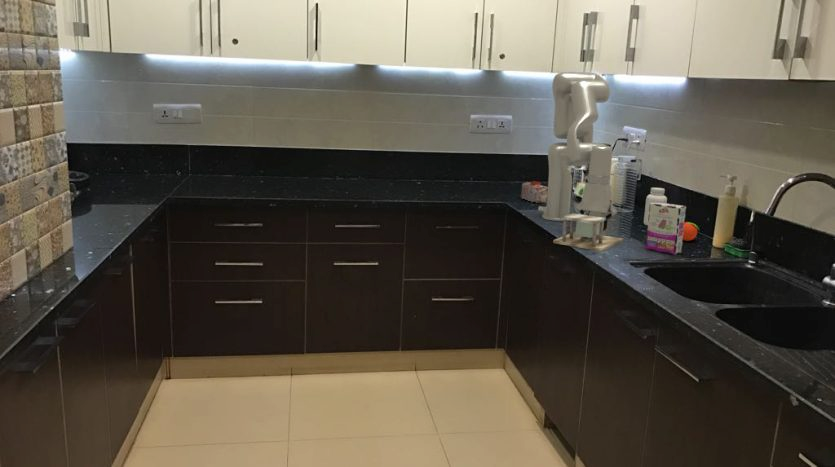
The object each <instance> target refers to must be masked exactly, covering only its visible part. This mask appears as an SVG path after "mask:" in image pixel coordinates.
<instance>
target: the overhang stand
mask: <svg viewBox="0 0 835 467" xmlns="http://www.w3.org/2000/svg"><path fill="white" fill-rule="evenodd" d="M563 219H564V221H563V226H562V236H561V237H559V238H555V239H553V241H552V243H553V244H555V245H556V244H558V245H564V246H567V247H574V248H581V249H585V250H586V249H587V250H592V251H596V252H603V250H604V251H606V250H607V249H609V248H612V247H614V246H616V245H617V244H620V243H622V242H624V238H621V237H614V236H609V235H604V232H603V226H604V221H605V218H603V217H602V216H595V215H594V216H593V215H589V216H588V215H582V214H581V213H570V214H569V215H566V216H563ZM567 220H570V224H569V226H570V227H569V233H568V234H567V229H568V228H567V227H568V221H567ZM577 221H578V222H584V223H591V224H593V236H592V237H591V238H588V237H582V236H576V231H574V227H575V222H577ZM598 223H600V232H599V234H598V235H596V231H597V224H598ZM605 249H606V250H605Z"/></svg>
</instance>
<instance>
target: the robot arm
mask: <svg viewBox="0 0 835 467" xmlns="http://www.w3.org/2000/svg"><path fill="white" fill-rule="evenodd" d="M551 89H552V90H551V91H552V95H553V100H554V114H553V129H552V130H553V136H554V137H555V138H557V139H561V140H566V142H564V141H563V142H560V141H559V142H555V143H552V144H550V145H549V148H548V151H547V159H548V181H547V183H548V184H547V187H548V195H547V201H546V206H538V212H543V214H542V219H544V220H548V221H553V222H555V221H556V222H564V219H563V216H566V215H569V214H571V212H570V211H571V197H572V186H573V177H572V173H571V171H570V170H569V169H568V167H584V166H587V165H588V164H589V165H588V167H589V168H588V174H587V175H585V176H584V180H587V182H585V184H584V187H583V191H582V192H583V193H582V195H581V196H582V197H581V201H580V202H579V203H578V204H577V205H576V206H575V207H576V209H577V210H578V211H579V214H581V215H588V216H590V214H591V212H593V213H600V214H601V218H605V221H604V226H603V231H606V230H607V228H608V220H610V219H611V218H612V217H613V216H615V215H616V214H617V213H618V210H617V209H616V207H615V206H614V204H613V189H612V184H610V183H611V182H610V181H611V174H612V173H611V172H612V171H611V170H612V161H613V148H612V146H609V145H606V144H605V143H603V142H602V143H601V142H593V138H594V123H596V121H598V120H599V111H598V107H597V106H598V105H597V104H603V103H606V102H608V100H609V99H610V96H611V89H610V86H609V83H608V82H607V80H605V79H604V78H603V77H602V76H601V75H599V74H597V73H595V72H587V71H585V72H583V71H581V72H580V71H563V72H562V71H561V72H558V73H557V74H555V75H554V77H553V79H552V85H551ZM609 212H610V213H609ZM567 222H571V220H567Z"/></svg>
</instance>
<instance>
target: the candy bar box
mask: <svg viewBox="0 0 835 467" xmlns="http://www.w3.org/2000/svg"><path fill="white" fill-rule="evenodd" d="M686 211H687V206H686V205H680V204H673V203H668V202H667V203H660V202H653V203H650V207H649V218H648V225H647V228H646V229H647V230H646V240H645V250H648V251H649V250H650V251H654V252H659V253H663V254H664V253H665V254H668V255H674V256H675V255H679V254H682V249H683V241H684V240H683V232H684V223H685V221H686Z"/></svg>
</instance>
